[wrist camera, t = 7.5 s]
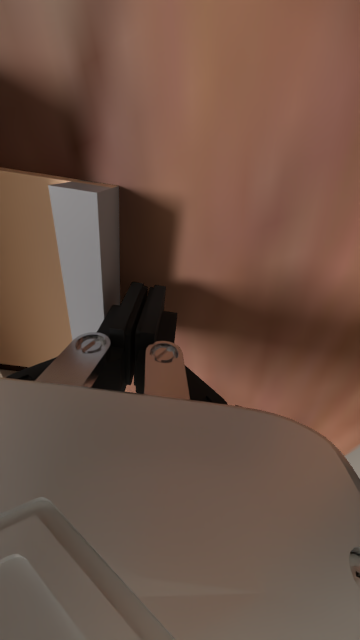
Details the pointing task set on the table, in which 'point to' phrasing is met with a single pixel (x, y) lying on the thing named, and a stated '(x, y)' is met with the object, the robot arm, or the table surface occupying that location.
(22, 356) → the tan flat board
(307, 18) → the table surface
